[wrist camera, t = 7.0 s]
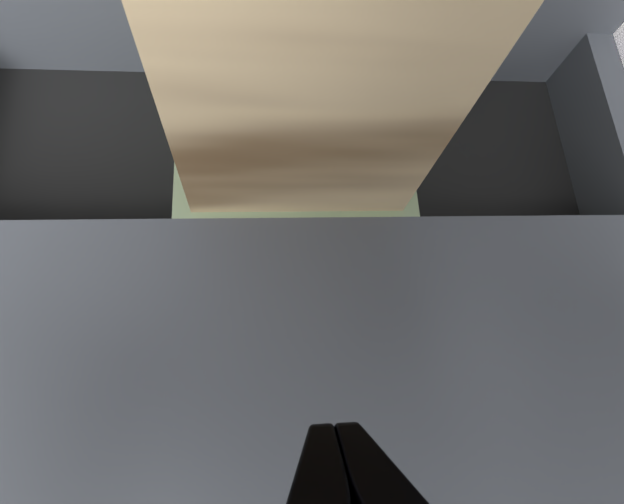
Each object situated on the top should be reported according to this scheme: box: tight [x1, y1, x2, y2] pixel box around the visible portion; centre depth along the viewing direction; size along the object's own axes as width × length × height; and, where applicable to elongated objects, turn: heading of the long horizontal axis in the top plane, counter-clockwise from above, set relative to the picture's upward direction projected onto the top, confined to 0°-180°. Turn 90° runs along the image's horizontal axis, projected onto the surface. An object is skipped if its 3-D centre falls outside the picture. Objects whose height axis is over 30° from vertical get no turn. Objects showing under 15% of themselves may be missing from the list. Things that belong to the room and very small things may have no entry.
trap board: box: [0, 0, 624, 504], centre depth 13 cm, size 23×23×4 cm
